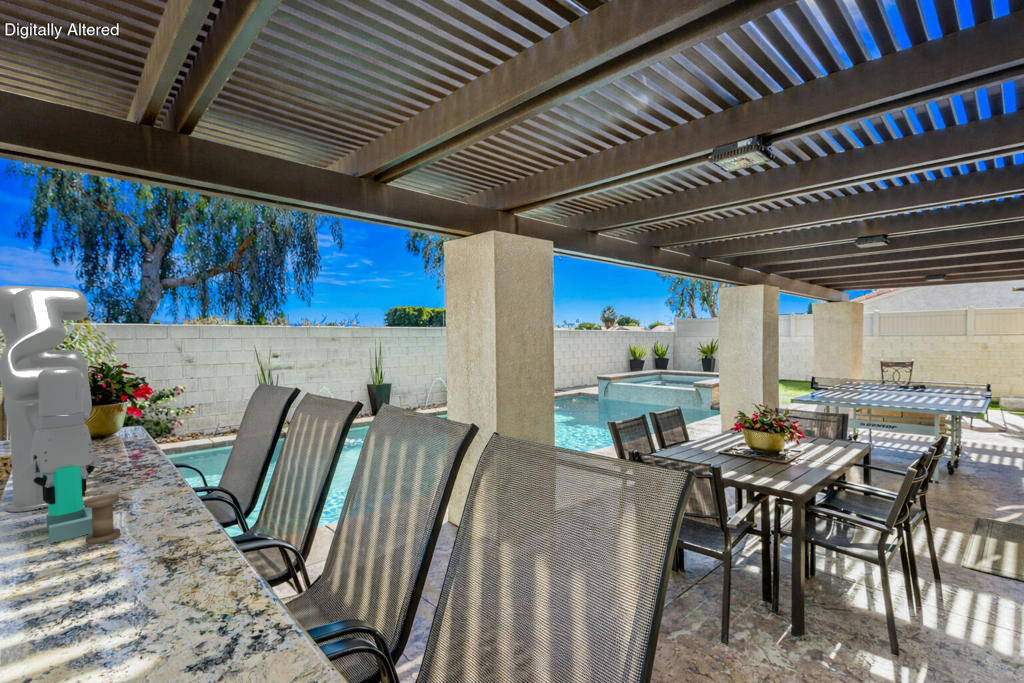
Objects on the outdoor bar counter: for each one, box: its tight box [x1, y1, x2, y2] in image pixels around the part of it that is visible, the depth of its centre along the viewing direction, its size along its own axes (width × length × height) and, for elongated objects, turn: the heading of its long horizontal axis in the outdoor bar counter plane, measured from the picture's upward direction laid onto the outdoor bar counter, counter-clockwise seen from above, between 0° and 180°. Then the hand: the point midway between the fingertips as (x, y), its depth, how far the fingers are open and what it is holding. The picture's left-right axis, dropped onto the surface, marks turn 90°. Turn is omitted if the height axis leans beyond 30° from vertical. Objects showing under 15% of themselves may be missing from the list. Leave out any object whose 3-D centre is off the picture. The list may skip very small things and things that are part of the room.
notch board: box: [45, 506, 93, 544], centre depth 115 cm, size 12×9×4 cm
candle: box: [47, 466, 84, 516], centre depth 113 cm, size 6×6×12 cm
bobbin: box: [83, 493, 121, 545], centre depth 110 cm, size 6×6×9 cm
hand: (65, 498), depth 113 cm, fingers closed on candle, 4 cm apart
